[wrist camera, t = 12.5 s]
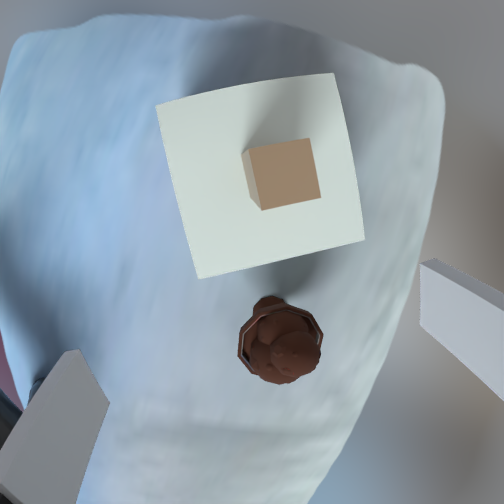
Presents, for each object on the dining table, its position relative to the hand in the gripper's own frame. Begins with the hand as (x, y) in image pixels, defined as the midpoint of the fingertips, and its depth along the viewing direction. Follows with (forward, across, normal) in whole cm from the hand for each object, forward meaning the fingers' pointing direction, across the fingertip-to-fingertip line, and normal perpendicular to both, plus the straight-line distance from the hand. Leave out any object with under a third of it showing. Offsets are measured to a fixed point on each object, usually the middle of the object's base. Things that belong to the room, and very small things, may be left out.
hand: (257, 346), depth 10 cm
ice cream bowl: (+33, +2, -16) cm, 37 cm away
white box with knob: (+33, +5, +5) cm, 33 cm away
